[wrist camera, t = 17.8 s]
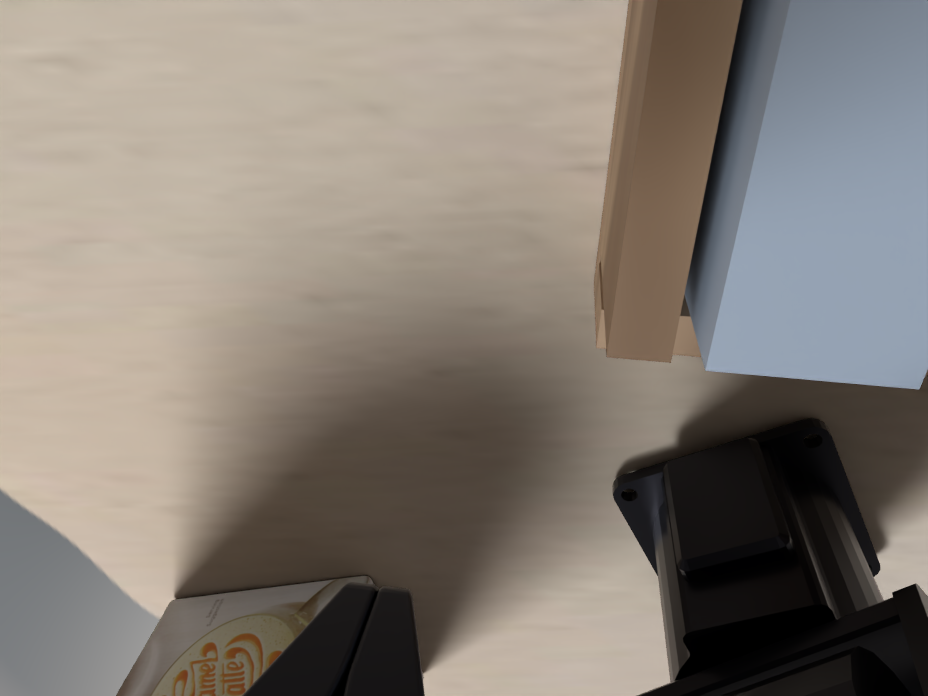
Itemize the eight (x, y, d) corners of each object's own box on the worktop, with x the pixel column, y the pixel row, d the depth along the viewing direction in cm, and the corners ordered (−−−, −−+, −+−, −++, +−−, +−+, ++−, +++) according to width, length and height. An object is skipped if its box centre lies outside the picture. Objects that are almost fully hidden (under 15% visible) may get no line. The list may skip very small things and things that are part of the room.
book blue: (920, -97, 14) (1125, -102, 8) (819, 248, 17) (918, 389, 12) (729, -101, 14) (814, -108, 9) (669, 237, 18) (705, 371, 12)
